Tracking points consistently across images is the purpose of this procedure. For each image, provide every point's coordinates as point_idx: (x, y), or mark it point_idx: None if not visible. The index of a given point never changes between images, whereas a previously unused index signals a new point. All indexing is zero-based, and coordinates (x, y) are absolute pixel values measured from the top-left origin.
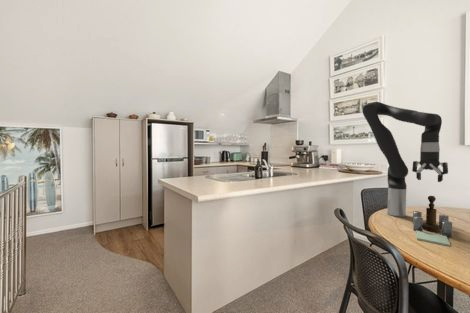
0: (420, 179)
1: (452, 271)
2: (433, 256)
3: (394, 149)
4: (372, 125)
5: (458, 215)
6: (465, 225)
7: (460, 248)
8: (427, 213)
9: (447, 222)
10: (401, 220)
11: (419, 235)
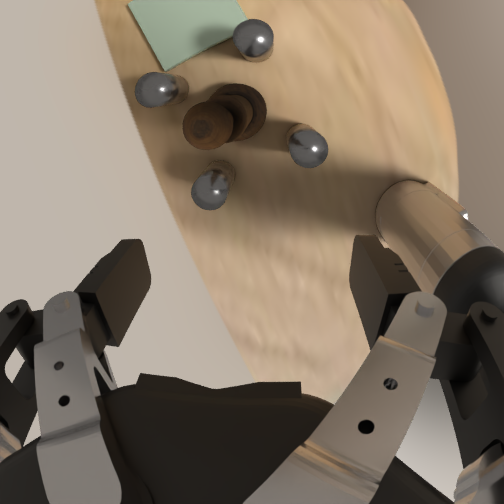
0: (351, 272)
1: None
2: None
3: None
4: None
5: (266, 372)
6: (206, 287)
7: (111, 20)
8: (236, 97)
9: (147, 83)
10: (363, 138)
11: None
